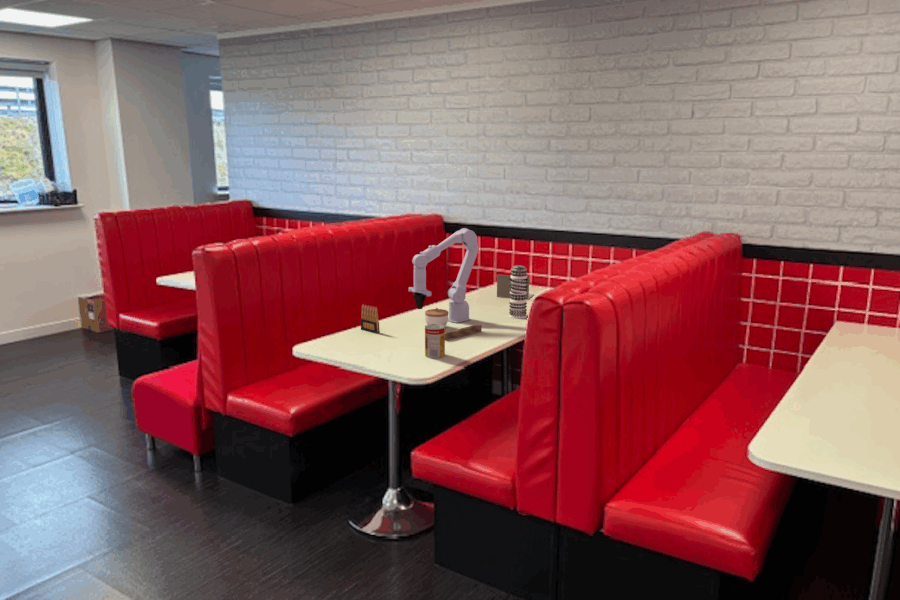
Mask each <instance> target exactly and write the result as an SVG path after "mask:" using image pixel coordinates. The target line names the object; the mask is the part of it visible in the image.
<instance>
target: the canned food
mask: <svg viewBox="0 0 900 600" xmlns="http://www.w3.org/2000/svg"><path fill="white" fill-rule="evenodd" d="M445 332H446V326H444V325H441V324H429V325H427V324H426V325H425V326H424V356H425V357H426V358H429V359H441V358H444V357H445V356H446V355H445V354H446V349H445V348H446V346H445V345H446V341H445Z"/></svg>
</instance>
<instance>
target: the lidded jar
mask: <svg viewBox="0 0 900 600" xmlns="http://www.w3.org/2000/svg"><path fill="white" fill-rule="evenodd" d="M424 311H425V312H424V315H425V318H424V319H425V322H426V325H429V324H441V325H444V326H445V327H446V326H447V324H448V322H449V321H448V318H449V310H447V309H443V308H438V307H436V308H433V309H432V308H431V309H427V310H424Z"/></svg>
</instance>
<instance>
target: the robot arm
mask: <svg viewBox="0 0 900 600" xmlns="http://www.w3.org/2000/svg"><path fill="white" fill-rule="evenodd" d="M455 244H463V246H464V247H465V249H466V251H465V255H464V257H463V260H462V262H461V266H460V268H459V271H458V273H457V277H456V280H455V281H454V282H453V283H452V284H451V287H450V288H448V291H447V296H448V298H449V300H448V322H451V323H454V324H458V323H462V322H466V321H471V318H470V305H469V303H468V301H466V292H467V283H468V281H469V278H470V275H471V272H472V270H473V266H474V264H475V261H476V259H477V256H478V252H479V244H478V236H477V234H476V233H475V231H474V230H471V229H469V228H467V227H462V228H460V229H459V230H456V231H455V232H454V233H453V234H451V235H450V236H448V237H446V238H445V239H444V240H443V241H441V242H440V243H438V245H435V244H432V245H428V248H426V249H424V250H423V251H420V252H419V254H415V255H414V256H413V257H412V259H411V262H412V264H413V286H409V287H408V292H411V293H413V294H412V295H411V296H412V297H413V299H414V303H415V304H416V309H417V310H423V307H424V304H425V301H426V299H427V297H432V291H430V290H428V289H427V284H426V283H427V270H426V267H427V266H428V263H430V262H432V261H433V260H435V259H436V258H438V257H440V255H441V253H442V251H443V250H446V249H447V248H450V247H452V246H453V245H455Z"/></svg>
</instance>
